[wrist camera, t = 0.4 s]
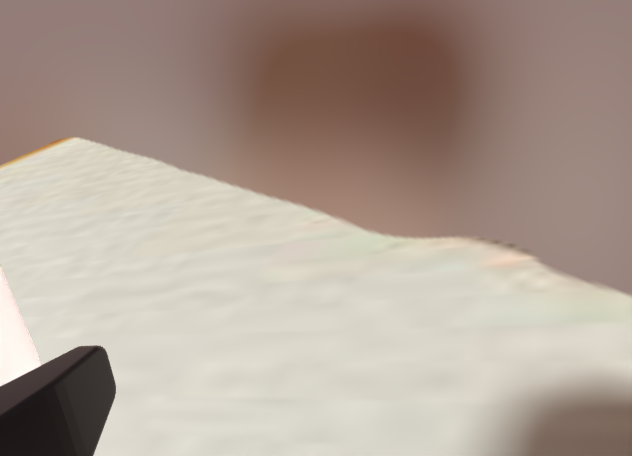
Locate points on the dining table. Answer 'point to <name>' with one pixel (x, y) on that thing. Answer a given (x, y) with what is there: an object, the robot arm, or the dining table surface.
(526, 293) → the dining table surface
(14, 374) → the foam cup
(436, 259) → the dining table surface
